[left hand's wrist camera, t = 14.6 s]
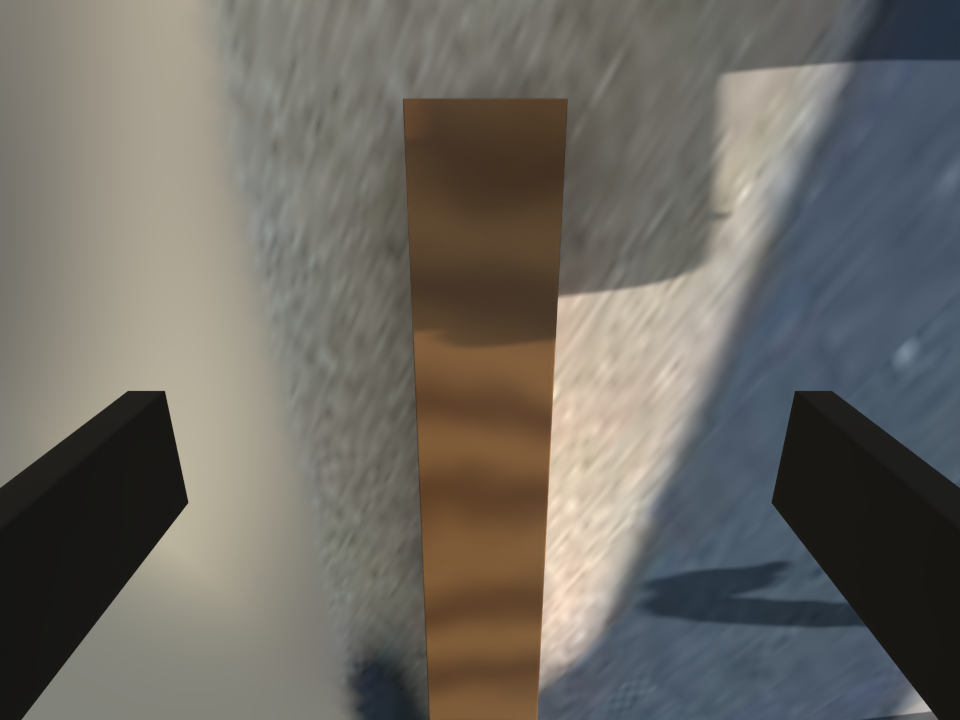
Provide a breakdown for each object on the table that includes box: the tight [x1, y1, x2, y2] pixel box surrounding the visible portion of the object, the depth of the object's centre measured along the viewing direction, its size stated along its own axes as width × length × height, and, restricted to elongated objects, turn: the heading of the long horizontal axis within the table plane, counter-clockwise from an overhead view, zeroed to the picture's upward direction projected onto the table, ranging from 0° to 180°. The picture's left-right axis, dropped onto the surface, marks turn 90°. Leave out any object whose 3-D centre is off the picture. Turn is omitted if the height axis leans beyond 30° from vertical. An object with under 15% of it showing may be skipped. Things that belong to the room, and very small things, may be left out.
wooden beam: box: [403, 99, 568, 720], centre depth 49 cm, size 71×9×7 cm, turn 0°
